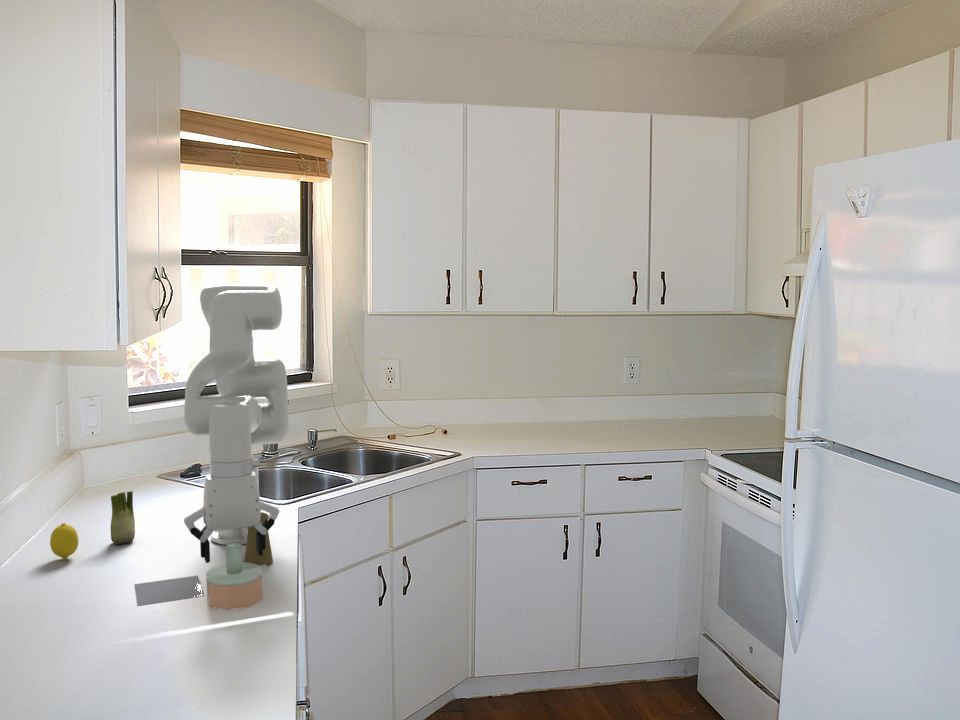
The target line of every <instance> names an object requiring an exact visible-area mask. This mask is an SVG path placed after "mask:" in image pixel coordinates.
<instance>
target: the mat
mask: <svg viewBox="0 0 960 720" xmlns="http://www.w3.org/2000/svg"><path fill="white" fill-rule="evenodd" d="M197 583H198V584H199V583H200V584H201V581H200V578H199V576H198V575H191V576H190V575H189V576H185V577H184V576H183V577H176V578H170V579H161V580H155V581H149V582H141V583H135V584H134V590H135V596H136V598H135V599H136V604H137V605H136V606H137V607H141V606H147V605H154V604H161V603H168V602H173V601H174V602H175V601H180V600H187V599H188V600H189V599H194V598H193V597H194V596H195V598H200V597H199V595H200V594H203V596H202V597H205V596H204V595H205V592H204V589H203V586H202V587H201V588H202V589H203V590H202V593H201V590H200V592H199V591H197V589H198V588H197V586H198V585H197ZM196 585H197V586H196ZM201 585H202V584H201ZM195 587H196V589H195ZM197 595H198V597H197ZM200 596H201V595H200Z"/></svg>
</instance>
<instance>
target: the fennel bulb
mask: <svg viewBox="0 0 960 720" xmlns="http://www.w3.org/2000/svg"><path fill="white" fill-rule="evenodd" d="M133 495H134V493H133V490H128V491H121V492H117V494H115V493H114V494H113V495H112V494H111V495H110V500H111V518H110V519H111V520H110V540H111V542H112V543H114V544H116V545H123V544H126V543H130V542H133V540H134V539H135V534H136V523H135V515H134V514H135V513H134V504H133V500H134V498H133Z"/></svg>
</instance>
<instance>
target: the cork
mask: <svg viewBox="0 0 960 720" xmlns="http://www.w3.org/2000/svg"><path fill="white" fill-rule="evenodd" d="M268 517H269V514H268V513H266V512H264V511H263V512H262V511H261V521H260V522H261V523H262V524H263V523H264V522H265V521H266V519H267V518H268ZM247 529H248V534H247V544H245V555H244V562H245V563H253V564H256V565H259V566H262V565H263V566H265V565H266V567H270V566H271V565H273V563H274V558H273V553H272V546H271V539H270V534H269V530H268V531H267V534H265V542H266V549H264V550H263V555H262V556H260V555H258V553H257V551H256V532H257V529H256V528H255V527H254V526H253V527H247Z"/></svg>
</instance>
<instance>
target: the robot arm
mask: <svg viewBox="0 0 960 720" xmlns="http://www.w3.org/2000/svg"><path fill="white" fill-rule="evenodd" d="M281 298H282V297H281V293H280V291H279V288H278V287H277V286H275V285H274V284H258V283H256V284H240V283H239V284H237V283H231V284H230V283H223V284H221V283H220V284H213V285H208V286H206V287H204V288H203V289H202V290H201V292H200V295H199V301H200V306H201V307H200V308H201V311H202V314H203V316H204V318H205V320H206V322H207V324H208V327H209V353H208V354H207V355H205V356H204V358H202V359H201V360H200V361H199V362H198V363H197V364H196V366H195V367H194V368H193V369H192V371H191V372H190V373H189V376H188V379H187V381H186V383H185V384H186V385H185V389H184V413H183V414H184V417H183V418H184V424H185V427H186V429H187V431H188V432H189V433H190V434H192V435H194V436H209V438H208V439H209V468H210V469H209V470H210V471H209V472H210V473H209V474H208V475H206V476H205V480H204V486H203V487H204V488H203V502H202V503H203V507H202V508H200V509H198V510H196V511H194V512H193V513H191V514H190V515H188V516H186V517H184V518H183V523H184V525H185V526H186V527H187V529H188V530H189V533H190V534H191V535H192V536H193V537H195V538H196V539H197V540H198V541H199V543H200V546H199V547H200V557H201V558H202V559H203V560H204V561H205V563H206V564H208V563H210V562H211V546H210V545H211V544H210V541H209V537H210V539H211V541H212V542H213V543H215V544H219V545H225V546H226V545H228V544H234V543H237V544H241V545H246V544H247V534H248V529H247V527H253V526H254V527H255V528H256V529H257V532H256V551H257V553H258V555H260V556H262V555H263V550H264V549H266V542H265V534H267V531H268V532H269V530H270V529H271V528H272V526H274V524H275V521H276V520H277V518H278V515H279V513H280V510H279V508H278V507H276V506H274V505H271V504H268V503H265V502H263V501H260V500H261V498H260V489H259V488H260V486H259V485H260V483H259V482H260V481H259V467H260V465H261V461H260V459H256V457H255V455H254V454H253V453H252V449H253V448H252V446H255V445H256V446H257V445H275V444H276V445H277V444H281V443H283V442H284V441H285V440H286V439H287V437H288V434H289V403H288V401H289V400H288V398H289V396H288V395H289V394H288V378H287V377H288V374H287V370H286V367H285V364H284V362H283V361H282V360H280V359H279V358H277V357H255V356H254V339H253V338H254V337H253V331H273V330H277V329H278V328H279V326H280V325H281V323H282V322H281V321H282V317H283V307H282V306H283V305H282V299H281ZM215 380H216V381H215ZM213 381H215V383H216V389H217V392H218V394H219V395H216V396H215V395H213V396H201V393H202V391H203V390H204V388H205V387H206V386H208V385H209V384H210V383H212V382H213ZM257 399H264V400H266V401H268V403H259V402H258V400H257ZM262 511H263V512H265V513H266V512H267V513H269V514H268V516H269V517H268V518H267V519H266V521H265V522H264V523H263V524H262V523H261V522H260V521H261V512H262ZM201 518H203V523H204V526H203V528H202V529H199V527H197V526H196V525H195V522H197V521H199V520H200V519H201Z"/></svg>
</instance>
